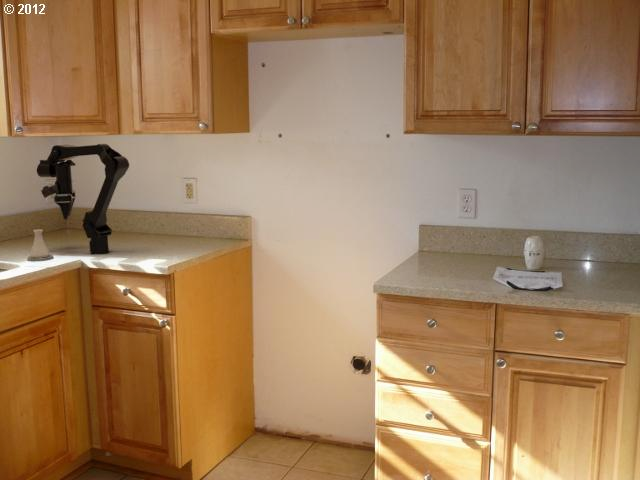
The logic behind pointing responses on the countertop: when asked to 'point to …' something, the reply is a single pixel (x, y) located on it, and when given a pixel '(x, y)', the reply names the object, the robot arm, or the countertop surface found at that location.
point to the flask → (39, 246)
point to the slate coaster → (40, 258)
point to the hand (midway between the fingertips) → (66, 217)
